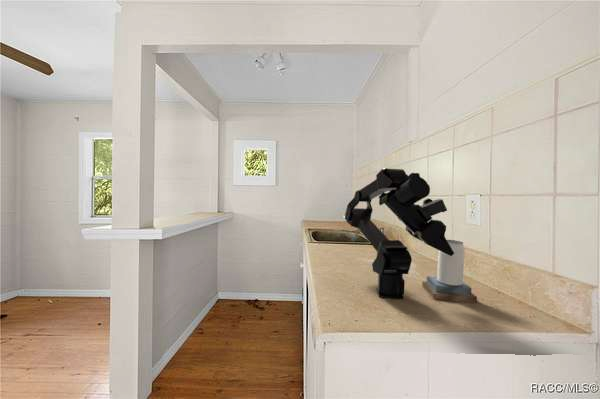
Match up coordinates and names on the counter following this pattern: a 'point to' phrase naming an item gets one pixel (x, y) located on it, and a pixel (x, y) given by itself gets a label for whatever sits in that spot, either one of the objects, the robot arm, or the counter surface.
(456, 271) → the can
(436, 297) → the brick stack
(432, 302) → the counter surface
